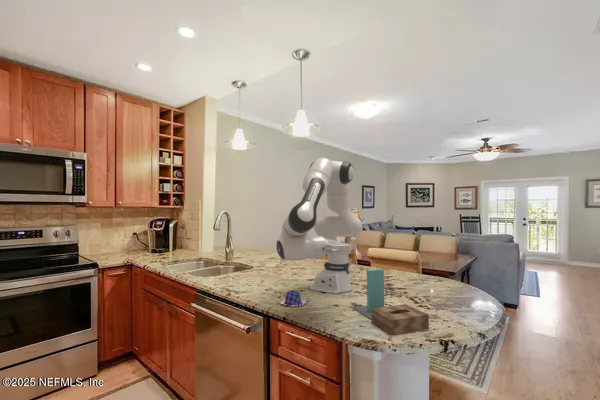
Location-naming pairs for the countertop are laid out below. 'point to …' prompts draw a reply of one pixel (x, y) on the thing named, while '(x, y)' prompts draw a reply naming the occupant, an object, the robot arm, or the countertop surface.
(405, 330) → the slot box
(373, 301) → the cover plate
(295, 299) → the pudding
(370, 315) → the mat
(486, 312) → the countertop surface
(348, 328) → the countertop surface
